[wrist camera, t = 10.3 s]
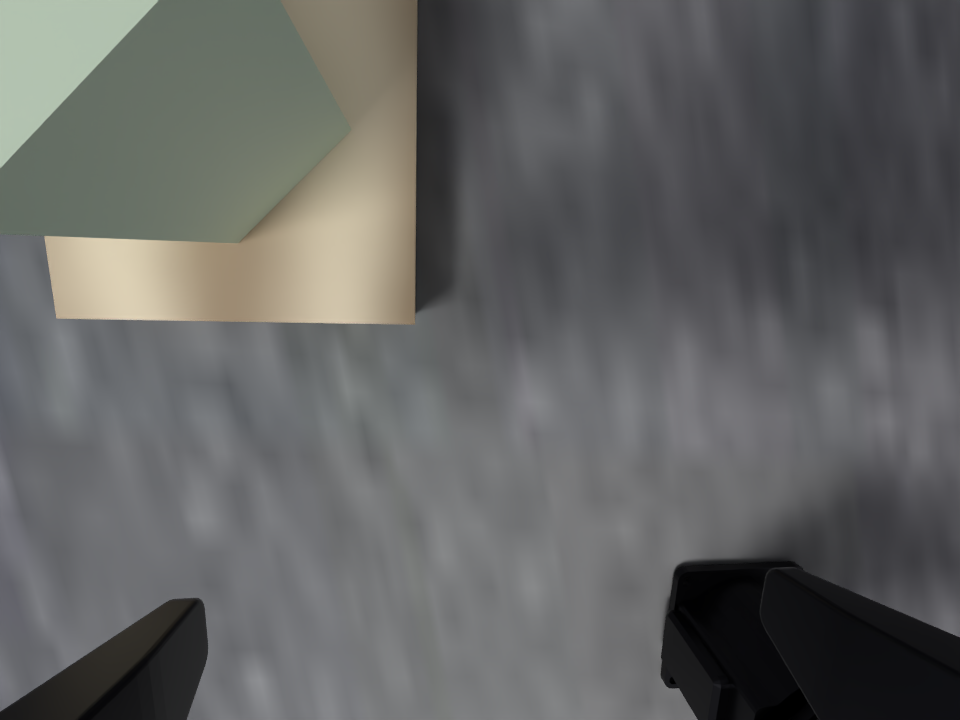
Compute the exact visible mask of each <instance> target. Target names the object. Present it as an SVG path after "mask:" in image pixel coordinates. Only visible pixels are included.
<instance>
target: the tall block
mask: <svg viewBox="0 0 960 720" xmlns="http://www.w3.org/2000/svg"><path fill="white" fill-rule="evenodd" d="M351 130H352V129H351V128H350V126H349V124H348V122H347V120H346V119H345V117H344V115H343V113H342V111H341V110H340V108H339V106H338V104H337V102H336V100H335V99H334V97H333V95H332V93H331V91H330V90H329V88H328V86H327V84H326V82H325V81H324V79H323V77H322V75H321V73H320V71H319V70H318V68H317V66H316V64H315V62H314V61H313V59H312V57H311V55H310V53H309V52H308V50H307V48H306V46H305V44H304V42H303V41H302V39H301V37H300V35H299V33H298V32H297V30H296V28H295V26H294V24H293V23H292V21H291V19H290V17H289V15H288V13H287V12H286V10H285V8H284V6H283V4H282V3H281V1H280V0H0V234H7V235H33V236H59V237H85V238H110V239H136V240H162V241H188V242H214V243H239V242H240V241H241V240H242V239H243V238H244V237H245V236H246V235H247V234H248V233H249V232H250V231H251V230H252V229H253V228H254V227H255V226H256V225H257V224H258V223H259V222H260V221H261V220H262V219H263V218H264V217H265V216H266V215H267V214H268V213H269V212H270V211H271V210H272V209H273V208H274V207H275V206H276V205H277V204H278V203H279V202H280V201H281V200H282V199H283V198H284V197H285V196H286V195H287V194H288V193H289V192H290V191H291V190H292V189H293V188H294V187H295V186H296V185H297V184H298V183H299V182H300V181H301V180H302V179H303V178H304V177H305V176H306V175H307V174H308V173H309V172H310V171H311V170H312V169H313V168H314V167H315V166H316V165H317V164H318V163H319V162H320V161H321V160H322V159H323V158H324V157H325V156H326V155H327V154H328V153H329V152H330V151H331V150H332V149H333V148H334V147H335V146H336V145H337V144H338V143H339V142H340V141H341V140H342V139H343V138H344V137H345V136H346V135H347V134H348V133H349V132H350V131H351Z"/></svg>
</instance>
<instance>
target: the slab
mask: <svg viewBox="0 0 960 720" xmlns="http://www.w3.org/2000/svg"><path fill="white" fill-rule="evenodd" d="M280 1H281V3H282V4H283V6H284V8H285V10H286V12H287V13H288V15H289V17H290V19H291V21H292V23H293V24H294V26H295V28H296V30H297V32H298V33H299V35H300V37H301V39H302V41H303V42H304V44H305V46H306V48H307V50H308V52H309V53H310V55H311V57H312V59H313V61H314V62H315V64H316V66H317V68H318V70H319V71H320V73H321V75H322V77H323V79H324V81H325V82H326V84H327V86H328V88H329V90H330V91H331V93H332V95H333V97H334V99H335V100H336V102H337V104H338V106H339V108H340V110H341V111H342V113H343V115H344V117H345V119H346V120H347V122H348V124H349V126H350V128H351V129H352V130H351V131H350V132H349V133H348V134H347V135H346V136H345V137H344V138H343V139H342V140H341V141H340V142H339V143H338V144H337V145H336V146H335V147H334V148H333V149H332V150H331V151H330V152H329V153H328V154H327V155H326V156H325V157H324V158H323V159H322V160H321V161H320V162H319V163H318V164H317V165H316V166H315V167H314V168H313V169H312V170H311V171H310V172H309V173H308V174H307V175H306V176H305V177H304V178H303V179H302V180H301V181H300V182H299V183H298V184H297V185H296V186H295V187H294V188H293V189H292V190H291V191H290V192H289V193H288V194H287V195H286V196H285V197H284V198H283V199H282V200H281V201H280V202H279V203H278V204H277V205H276V206H275V207H274V208H273V209H272V210H271V211H270V212H269V213H268V214H267V215H266V216H265V217H264V218H263V219H262V220H261V221H260V222H259V223H258V224H257V225H256V226H255V227H254V228H253V229H252V230H251V231H250V232H249V233H248V234H247V235H246V236H245V237H244V238H243V239H242V240H241V241H240V242H239V243H214V242H188V241H162V240H136V239H110V238H85V237H59V236H45V243H46V250H47V257H48V264H49V270H50V277H51V284H52V291H53V298H54V305H55V312H56V318H59V319H118V320H178V321H237V322H297V323H356V324H415V282H416V140H417V0H280Z"/></svg>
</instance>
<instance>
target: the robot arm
mask: <svg viewBox="0 0 960 720" xmlns="http://www.w3.org/2000/svg"><path fill="white" fill-rule="evenodd" d="M685 577H688V578H687V579H686V580H684V578H685ZM207 655H208V638H207V628H206V618H205V608H204V604H203V602H202V600H200V599H199V598H184V599H172V600H169V601H168V602H166V603H164V604H163V605H161V606H160V607H158V608H157V609H155V610H154V611H152V612H151V613H149V614H148V615H146V616H145V617H143V618H142V619H140V620H139V621H137V622H136V623H134V624H132V625H131V626H129V627H128V628H126V629H125V630H123V631H122V632H120V633H119V634H117V635H116V636H114V637H113V638H111V639H110V640H108V641H107V642H105V643H104V644H102V645H101V646H99V647H98V648H96V649H95V650H93V651H92V652H90V653H89V654H87V655H86V656H84V657H83V658H81V659H79V660H78V661H76V662H75V663H73V664H72V665H70V666H69V667H67V668H66V669H64V670H63V671H61V672H60V673H58V674H57V675H55V676H54V677H52V678H51V679H49V680H48V681H46V682H45V683H43V684H42V685H40V686H39V687H37V688H36V689H34V690H33V691H31V692H29V693H28V694H26V695H25V696H23V697H22V698H20V699H19V700H17V701H16V702H14V703H13V704H11V705H10V706H8V707H7V708H5V709H4V710H2V711H1V712H0V720H187V717H188V714H189V711H190V708H191V705H192V702H193V699H194V696H195V694H196V691H197V688H198V685H199V682H200V679H201V676H202V673H203V670H204V667H205V664H206V660H207ZM661 658H662V668H661V678H662V680H663V682H664V683H665V685H666V686H667V687H668V688H679V689H680V691H681V692H682V694H683V696H684V697H685V699H686V701H687V702H688V704H689V706H690V707H691V709H692V711H693V712H694V714H695V716H696V717H697V719H698V720H960V637H957V636H955V635H953V634H950V633H948V632H946V631H943V630H941V629H939V628H936V627H934V626H932V625H929V624H927V623H925V622H922V621H920V620H918V619H915V618H913V617H910V616H908V615H906V614H903V613H901V612H899V611H896V610H894V609H892V608H889V607H887V606H885V605H882V604H880V603H878V602H875V601H873V600H870V599H868V598H866V597H863V596H861V595H859V594H856V593H854V592H852V591H849V590H847V589H845V588H842V587H840V586H838V585H835V584H833V583H831V582H828V581H826V580H823V579H821V578H819V577H816V576H814V575H812V574H809V573H807V572H805V571H804V570H803V568H801V567H800V566H799V565H798V564H796V563H795V562H791V561H790V562H769V563H747V564H726V565H705V566H684V567H681V568H679V569H677V571H676V572H675V574H674V577H673V585H672V592H671V600H670V607H669V612H668V614H667V616H666V623H665V630H664V638H663V646H662V653H661Z"/></svg>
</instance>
